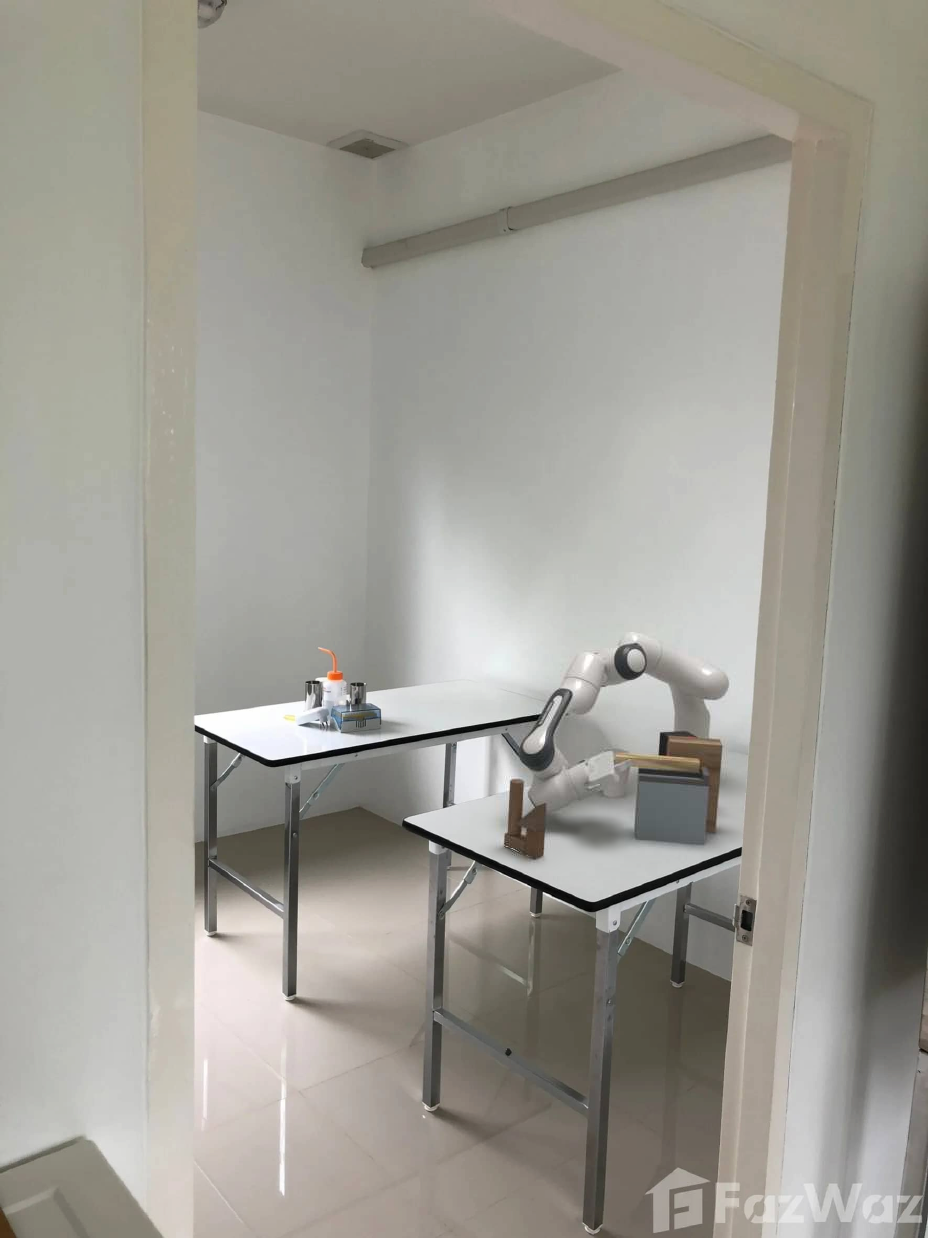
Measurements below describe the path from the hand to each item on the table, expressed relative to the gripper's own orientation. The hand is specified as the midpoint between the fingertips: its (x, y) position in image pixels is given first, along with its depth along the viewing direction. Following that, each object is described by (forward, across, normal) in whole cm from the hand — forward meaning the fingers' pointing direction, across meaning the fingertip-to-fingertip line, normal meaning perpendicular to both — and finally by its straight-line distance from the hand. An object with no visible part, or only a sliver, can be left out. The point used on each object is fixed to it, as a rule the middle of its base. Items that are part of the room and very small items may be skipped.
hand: (631, 758), depth 257 cm
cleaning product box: (+4, +27, +27) cm, 38 cm away
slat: (+5, 0, +5) cm, 7 cm away
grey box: (-1, 0, +24) cm, 24 cm away
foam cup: (-13, +31, +17) cm, 38 cm away
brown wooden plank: (+4, +8, +27) cm, 28 cm away
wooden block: (-34, -19, +5) cm, 39 cm away
